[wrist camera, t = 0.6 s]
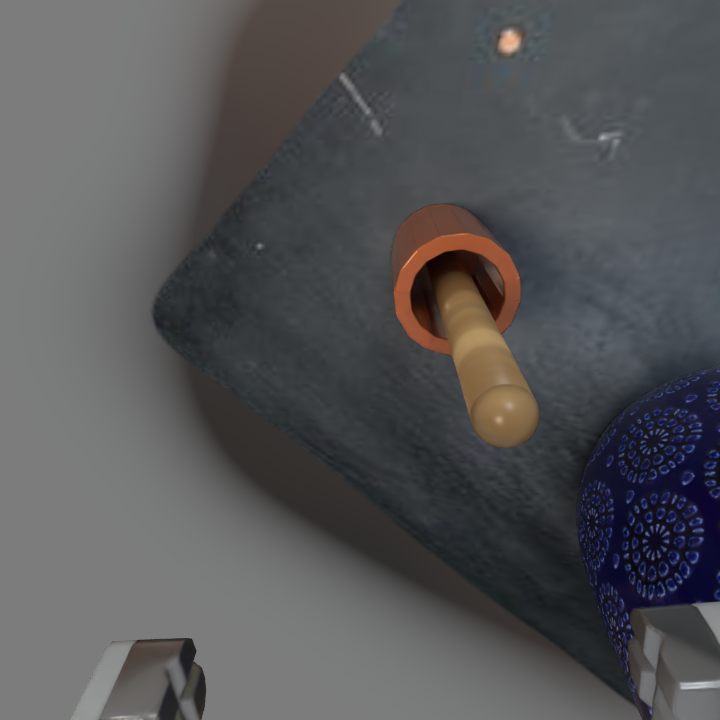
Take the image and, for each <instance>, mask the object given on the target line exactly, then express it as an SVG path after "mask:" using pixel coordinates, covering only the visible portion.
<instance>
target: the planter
mask: <svg viewBox="0 0 720 720" xmlns="http://www.w3.org/2000/svg"><path fill="white" fill-rule="evenodd" d="M576 525H577V532H578V539H579V546H580V552H581V556H582V559H583V563H584V566H585V569H586V572H587V576H588V579H589V582H590V585H591V588H592V592H593V595H594V597H595V600H596V603H597V606H598V609H599V612H600V615H601V617H602V620H603V623H604V626H605V628H606V631H607V633H608V636H609V638H610V641H611V643H612V646H613V648H614V651H615V653H616V656H617V658H618V661H619V663H620V666H621V668H622V671H623V673H624V676H625V678H626V681H627V683H628V686H629V688H630V691H631V693H632V696H633V698H634V701H635V703H636V706H637V708H638V710H639V713H640V715H641V717H642V720H651V715H652V708H651V707H650V706H649V705H647V704H646V703H645V702H644V701H642V700H641V699H640V698H639V695H638V693H637V690H636V688H635V686H634V683H633V679H632V676H631V673H630V668H629V662H628V641H629V640H630V639H631V638H632V637H633V636H634V635H635V634H634V632H633V630H632V627H631V625H630V615H631V612H632V610H633V608H638V607H651V606H664V605H676V604H694V603H709V602H720V367H713V368H708V369H703V370H699V371H695V372H691V373H688V374H685V375H682V376H680V377H677V378H674V379H672V380H670V381H668V382H665V383H663V384H661V385H659V386H657V387H656V388H654V389H652V390H650V391H649V392H647V393H645V394H644V395H642V396H641V397H639V398H638V399H637V400H635V401H634V402H633V403H631V404H630V405H629V406H628V407H627V408H625V409H624V410H623V411H622V412H621V413H620V414H619V415H618V416H617V417H616V418H615V419H614V420H613V421H612V422H611V423H610V425H609V426H608V427H607V428H606V430H605V431H604V432H603V434H602V435H601V437H600V438H599V440H598V441H597V443H596V445H595V446H594V448H593V450H592V452H591V455H590V457H589V459H588V461H587V464H586V466H585V469H584V472H583V475H582V478H581V482H580V487H579V493H578V499H577V507H576Z"/></svg>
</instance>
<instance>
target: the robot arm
mask: <svg viewBox="0 0 720 720" xmlns="http://www.w3.org/2000/svg"><path fill="white" fill-rule="evenodd" d="M630 625H631V627H632V630H633V632H634V634H635V635H634V636H633V637H632V638H631V639H630V640H629V641H628V662H629V668H630V673H631V676H632V679H633V683H634V686H635V688H636V690H637V693H638V695H639V698H640V699H641V700H642V701H644V702H645V703H646V704H647V705H649V706H650V707H651V708H652V715H651V720H720V602H709V603H694V604H676V605H664V606H651V607H638V608H633V610H632V612H631V615H630ZM195 654H196V648H195V646H194V644H193V641H192V639H190V638H176V639H150V640H133V641H113V642H111V643H110V644H109V645H108V646H107V647H106V649H105V650H104V652H103V654H102V656H101V658H100V660H99V662H98V664H97V666H96V668H95V670H94V672H93V674H92V676H91V678H90V680H89V682H88V684H87V686H86V688H85V690H84V692H83V694H82V696H81V698H80V700H79V702H78V704H77V706H76V708H75V710H74V712H73V714H72V716H71V718H70V720H201V719H202V715H203V711H204V707H205V696H206V684H205V676H204V673H203V670H202V668H201V667H200V666H199V665H197V664H196V663H195V662H193V660H194V657H195Z"/></svg>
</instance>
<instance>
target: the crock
mask: <svg viewBox="0 0 720 720" xmlns="http://www.w3.org/2000/svg"><path fill="white" fill-rule="evenodd" d="M456 250H457V251H458V252H459V254H460V256H461V258H462V260H463V262H464V264H465V266H466V268H467V270H468V272H469V274H470V275H471V277H472V279H473V281H474V283H475V285H476V287H477V289H478V291H479V293H480V295H481V296H482V298H483V300H484V302H485V304H486V306H487V308H488V310H489V312H490V314H491V316H492V317H493V319H494V321H495V323H496V325H497V327H498V329H499V331H500V333H501V335H502V334H503V333H504V332H505V331H506V330H507V328H508V327H509V326H510V325H511V323H512V322H513V320H514V317H515V315H516V312H517V310H518V307H519V305H520V300H521V282H520V275H519V273H518V271H517V269H516V267H515V265H514V263H513V261H512V258H511V257H510V255H509V254H508V253H507V251H506V250H505V249H504V248H503V247H502V246H501V244H500V243H499V242H498V241H497V240H496V239H495V237H494V236H493V235H492V234H491V233H490V231H489V230H488V229H487V228H486V227H485V226H484V224H483V223H482V222H481V221H480V220H478V219H477V218H476V217H475V216H474V215H473V214H472V213H470V212H469V211H467V210H465V209H463V208H461V207H458V206H455V205H450V204H435V205H430V206H427V207H424V208H422V209H420V210H418V211H416V212H415V213H413V214H412V215H410V216H409V217H408V218H407V219H406V220H405V221H404V222H403V223H402V225H401V226H400V228H399V229H398V231H397V233H396V235H395V238H394V240H393V244H392V250H391V263H392V277H393V291H394V301H395V309H396V315H397V317H398V319H399V321H400V323H401V324H402V326H403V328H404V330H405V331H406V333H407V334H408V336H409V337H411V338H412V339H413V340H415V341H416V342H417V343H419V344H420V345H421V346H423V347H424V348H425V349H428V350H432V351H436V352H440V353H444V354H447V355H452V353H451V350H450V346H449V343H448V339H447V336H446V332H445V329H444V325H443V322H442V318H441V315H440V311H439V308H438V304H437V301H436V297H435V294H434V290H433V286H432V283H431V279H430V276H429V272H428V269H427V266H426V262H427V261H429V260H431V259H433V258H434V257H436V256H438V255H440V254H442V253H444V252H447V251H456Z"/></svg>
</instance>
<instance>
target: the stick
mask: <svg viewBox="0 0 720 720" xmlns="http://www.w3.org/2000/svg"><path fill="white" fill-rule="evenodd" d="M426 266H427V269H428V272H429V276H430V279H431V283H432V286H433V290H434V294H435V297H436V301H437V304H438V308H439V311H440V315H441V318H442V322H443V325H444V329H445V332H446V336H447V339H448V343H449V346H450V350H451V353H452V357H453V360H454V364H455V367H456V371H457V374H458V378H459V381H460V385H461V388H462V392H463V395H464V399H465V402H466V406H467V409H468V413H469V416H470V420H471V423H472V426H473V428H474V430H475V432H476V433H477V435H478V436H479V437H480V438H481V439H483V440H484V441H485V442H486V443H488V444H490V445H492V446H495V447H500V448H512V447H516V446H519V445H521V444H523V443H524V442H526V441H527V440H528V439H529V438H530V437H531V436H532V435H533V433H534V432H535V430H536V428H537V425H538V422H539V408H538V405H537V402H536V400H535V398H534V396H533V394H532V392H531V390H530V388H529V386H528V384H527V382H526V380H525V379H524V377H523V375H522V373H521V371H520V369H519V367H518V365H517V363H516V361H515V359H514V358H513V356H512V354H511V352H510V350H509V348H508V346H507V344H506V342H505V340H504V338H503V337H502V335H501V333H500V331H499V329H498V327H497V325H496V323H495V321H494V319H493V317H492V316H491V314H490V312H489V310H488V308H487V306H486V304H485V302H484V300H483V298H482V296H481V295H480V293H479V291H478V289H477V287H476V285H475V283H474V281H473V279H472V277H471V275H470V274H469V272H468V270H467V268H466V266H465V264H464V262H463V260H462V258H461V256H460V254H459V252H458V251H457V250H456V251H447V252H444V253H442V254H440V255H438V256H436V257H434V258H433V259H431V260H429V261H427V262H426Z"/></svg>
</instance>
